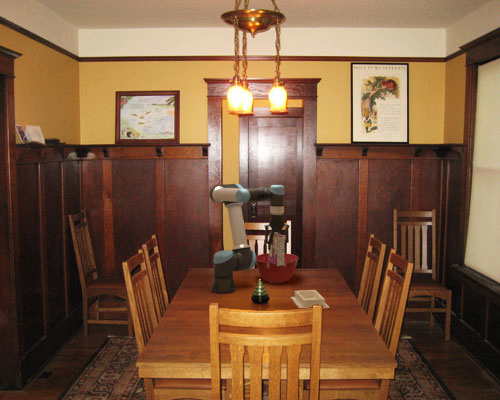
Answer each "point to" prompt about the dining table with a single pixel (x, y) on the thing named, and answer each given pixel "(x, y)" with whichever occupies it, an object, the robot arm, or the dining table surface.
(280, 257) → the candy bar box
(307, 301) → the beige shallow square tray
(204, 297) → the dining table surface
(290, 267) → the mixing bowl
